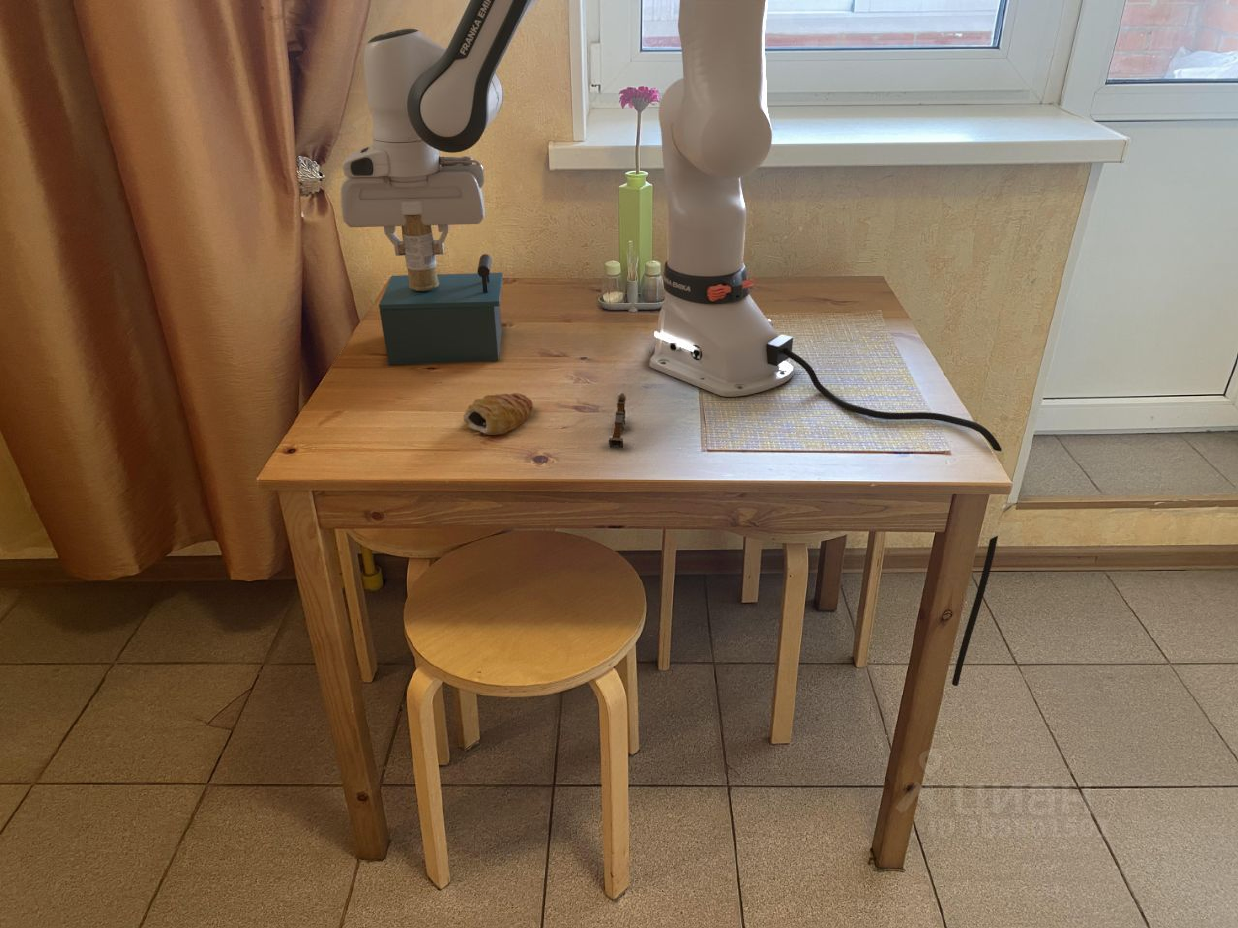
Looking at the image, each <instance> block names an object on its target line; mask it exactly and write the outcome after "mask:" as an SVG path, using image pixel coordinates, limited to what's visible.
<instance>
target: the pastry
mask: <svg viewBox="0 0 1238 928" xmlns="http://www.w3.org/2000/svg"><path fill="white" fill-rule="evenodd" d="M533 412H534V405H533V401H532V399H530V398H528V397H527V395H525V394H523V393H518V392H517V393H516V392H514V393H510V394H509V393H501V394H492V395H490V394H487V395H485V396H483V398H478V399H474V401H473V402H472V404H468V406H467V409H466V410H465V411H464V414H463V421H464V422H465V424H466V426H467V427H468V429H471V430H473V431H476V432H480V433H482V434H484V435H487V436H500V435H503V434H506V433H507V432H508V431H510V430H512V431H513V430H515V429H517V428H518V427H519V426H521V425H523V423H526V421H527V420H529V418H530V417H531V416H532V414H533Z"/></svg>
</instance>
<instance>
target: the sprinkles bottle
mask: <svg viewBox="0 0 1238 928" xmlns="http://www.w3.org/2000/svg"><path fill="white" fill-rule="evenodd" d="M401 208H402V214H404V215H405V216H404V217H405V218H406V225H405V226H400V227H401V236H402V241H403V244H404V248H405V249H404V250H405V255H404V257H405V264H406V268H407V275H409V287H410V288H411V289H413V290H416V291H428V290H433V289H435V288H436V287H438V286H439V281H438V278H437V274H438V271H437V258H436V255H434V254H433V250H434V249H433V246H432V243H433V242H434V241H433V240H434V233H433V230H432V225H423V224H422V222H421V217H422V216H420V214H422V213H423V212H422V204H421V202H420V201H405V202H402V203H401Z"/></svg>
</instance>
